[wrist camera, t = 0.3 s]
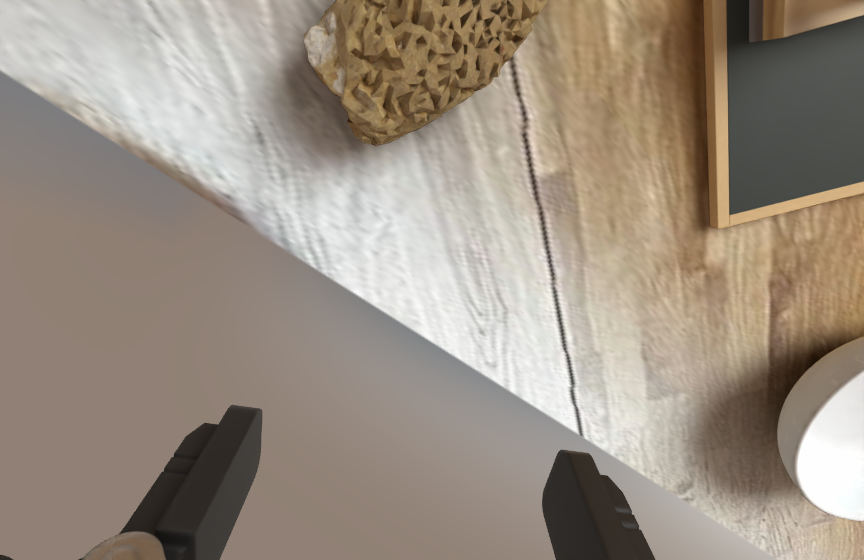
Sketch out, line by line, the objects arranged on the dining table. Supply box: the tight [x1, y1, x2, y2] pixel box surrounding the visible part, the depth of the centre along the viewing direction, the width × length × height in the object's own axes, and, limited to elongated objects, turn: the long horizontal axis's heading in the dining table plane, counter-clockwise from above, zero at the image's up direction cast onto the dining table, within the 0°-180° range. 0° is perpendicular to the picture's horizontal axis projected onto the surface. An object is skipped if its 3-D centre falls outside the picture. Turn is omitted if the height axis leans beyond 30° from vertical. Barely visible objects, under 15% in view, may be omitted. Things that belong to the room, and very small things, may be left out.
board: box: [703, 0, 864, 229], centre depth 35 cm, size 21×17×1 cm
